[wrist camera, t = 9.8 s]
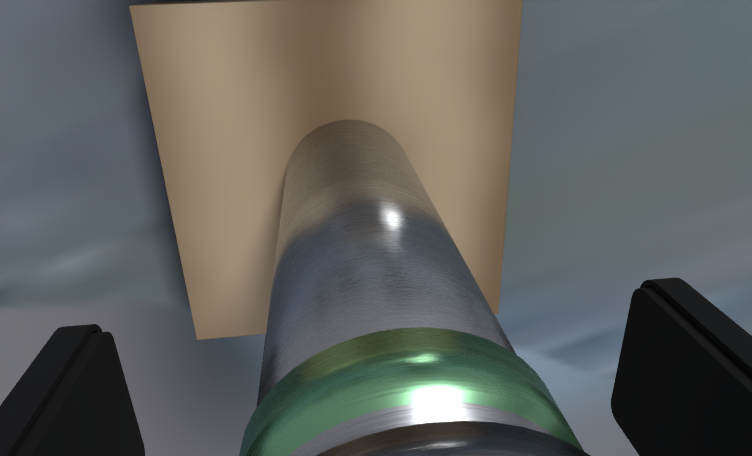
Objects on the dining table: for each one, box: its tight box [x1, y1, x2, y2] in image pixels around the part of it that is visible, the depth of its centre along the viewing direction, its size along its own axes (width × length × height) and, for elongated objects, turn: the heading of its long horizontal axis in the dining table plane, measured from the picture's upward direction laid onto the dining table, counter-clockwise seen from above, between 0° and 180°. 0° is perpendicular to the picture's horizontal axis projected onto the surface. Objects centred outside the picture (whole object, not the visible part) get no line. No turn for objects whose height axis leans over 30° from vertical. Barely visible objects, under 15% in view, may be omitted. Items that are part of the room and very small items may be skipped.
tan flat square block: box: [129, 0, 523, 340], centre depth 20 cm, size 12×12×3 cm
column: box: [240, 120, 590, 456], centre depth 12 cm, size 5×5×15 cm
